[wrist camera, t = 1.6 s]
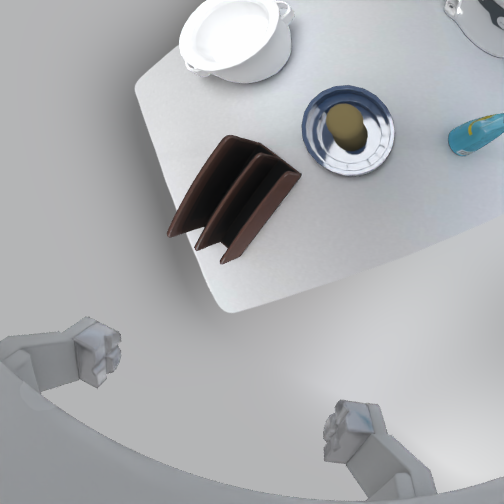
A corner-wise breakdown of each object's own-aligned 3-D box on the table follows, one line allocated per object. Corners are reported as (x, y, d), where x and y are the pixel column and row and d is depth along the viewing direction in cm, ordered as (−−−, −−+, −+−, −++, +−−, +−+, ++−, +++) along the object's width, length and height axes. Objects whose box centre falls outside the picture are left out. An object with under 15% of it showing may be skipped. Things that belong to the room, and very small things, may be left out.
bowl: (317, 87, 43) (311, 78, 38) (398, 106, 38) (401, 98, 33) (300, 163, 47) (293, 161, 43) (381, 186, 42) (383, 186, 38)
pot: (227, 113, 50) (190, 99, 39) (196, 55, 50) (160, 36, 39) (326, 56, 40) (310, 24, 29) (281, 1, 40) (257, -31, 29)
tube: (467, 121, 33) (512, 89, 16) (481, 146, 33) (533, 129, 16) (436, 138, 36) (472, 110, 19) (451, 164, 36) (495, 152, 19)
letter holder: (205, 224, 58) (158, 236, 45) (259, 142, 49) (221, 129, 37) (240, 257, 56) (200, 278, 43) (302, 174, 47) (276, 170, 35)
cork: (330, 148, 44) (319, 138, 34) (333, 114, 42) (322, 95, 33) (366, 153, 42) (364, 144, 32) (369, 119, 40) (367, 100, 30)
